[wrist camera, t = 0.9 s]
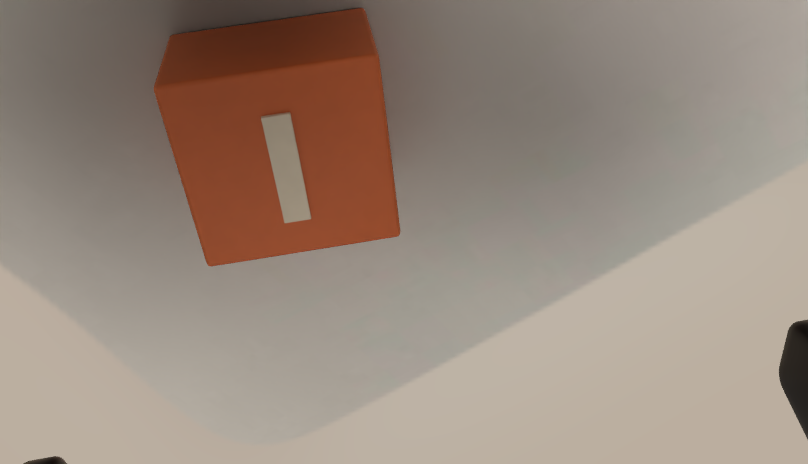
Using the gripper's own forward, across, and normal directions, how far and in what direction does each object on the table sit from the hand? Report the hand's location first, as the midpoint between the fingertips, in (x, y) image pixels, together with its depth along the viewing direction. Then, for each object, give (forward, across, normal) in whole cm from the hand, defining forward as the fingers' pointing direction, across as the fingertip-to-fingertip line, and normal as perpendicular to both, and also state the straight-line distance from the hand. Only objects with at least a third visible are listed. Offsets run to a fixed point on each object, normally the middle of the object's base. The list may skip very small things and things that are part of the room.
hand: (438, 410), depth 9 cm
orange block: (+11, +2, +1) cm, 11 cm away
